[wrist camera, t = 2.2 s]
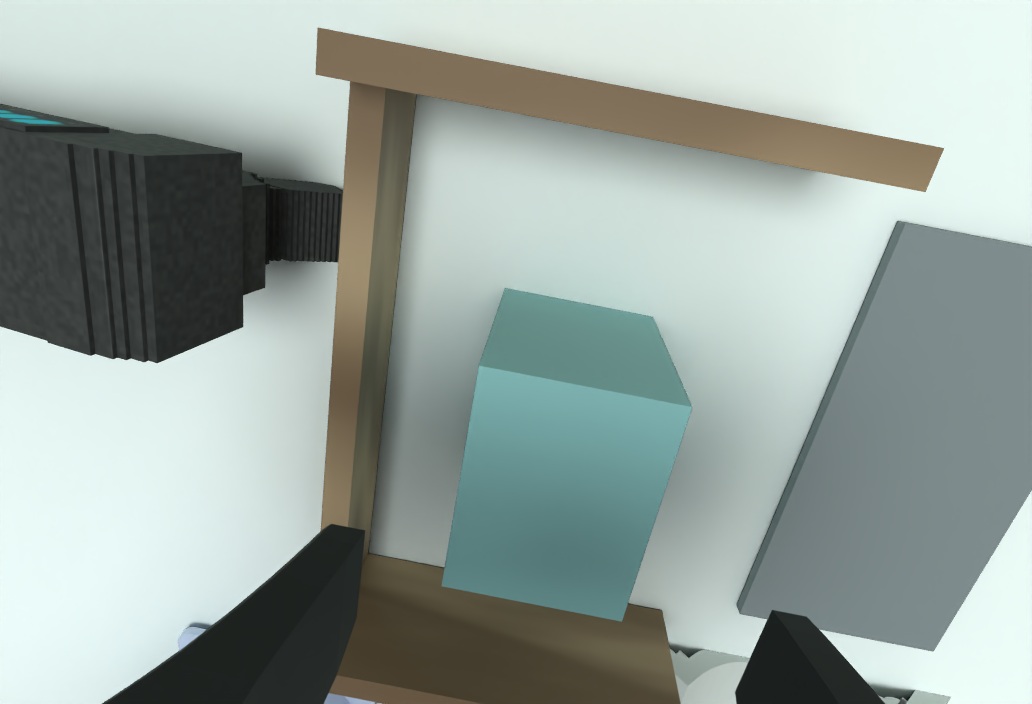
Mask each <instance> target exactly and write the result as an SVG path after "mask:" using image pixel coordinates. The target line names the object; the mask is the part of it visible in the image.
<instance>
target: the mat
mask: <svg viewBox="0 0 1032 704" xmlns="http://www.w3.org/2000/svg"><path fill="white" fill-rule="evenodd" d="M1031 490H1032V247H1031V246H1026V245H1021V244H1015V243H1010V242H1005V241H1000V240H995V239H989V238H984V237H979V236H974V235H969V234H964V233H958V232H953V231H948V230H943V229H938V228H932V227H927V226H922V225H917V224H912V223H907V222H901V221H898V222H897V224H896V227H895V229H894V231H893V234H892V236H891V238H890V241H889V243H888V246H887V248H886V250H885V253H884V255H883V258H882V260H881V262H880V265H879V267H878V269H877V272H876V274H875V277H874V279H873V281H872V284H871V286H870V289H869V291H868V293H867V296H866V298H865V300H864V303H863V305H862V308H861V310H860V312H859V315H858V317H857V320H856V322H855V324H854V327H853V329H852V331H851V334H850V336H849V339H848V341H847V343H846V346H845V348H844V351H843V353H842V355H841V358H840V360H839V362H838V365H837V367H836V370H835V372H834V374H833V377H832V379H831V382H830V384H829V386H828V389H827V391H826V393H825V396H824V398H823V401H822V403H821V405H820V408H819V410H818V413H817V415H816V417H815V420H814V422H813V424H812V427H811V429H810V432H809V434H808V436H807V439H806V441H805V444H804V446H803V448H802V451H801V453H800V455H799V458H798V460H797V463H796V465H795V467H794V470H793V472H792V475H791V477H790V479H789V482H788V484H787V487H786V489H785V491H784V494H783V496H782V498H781V501H780V503H779V506H778V508H777V510H776V513H775V515H774V518H773V520H772V522H771V525H770V527H769V529H768V532H767V534H766V537H765V539H764V541H763V544H762V546H761V549H760V551H759V553H758V556H757V558H756V560H755V563H754V565H753V568H752V570H751V572H750V575H749V577H748V580H747V582H746V584H745V587H744V589H743V591H742V594H741V596H740V599H739V601H738V603H737V608H738V610H739V613H740V614H743V615H748V616H753V617H758V618H764V619H768V618H769V615H770V613H771V611H772V610H776V611H781V612H786V613H791V614H796V615H801V616H806V617H808V618H809V619H810V620H811V622H812V623H813V624H814V625H815V626H816V627H817V628H818V629H820V630H825V631H831V632H836V633H841V634H846V635H851V636H856V637H861V638H867V639H872V640H877V641H882V642H887V643H892V644H897V645H903V646H908V647H913V648H918V649H923V650H928V651H934V650H935V648H936V647H937V645H938V643H939V642H940V640H941V638H942V637H943V635H944V633H945V632H946V630H947V628H948V627H949V625H950V623H951V622H952V620H953V619H954V617H955V615H956V614H957V612H958V610H959V609H960V607H961V605H962V604H963V602H964V600H965V599H966V597H967V596H968V594H969V592H970V591H971V589H972V587H973V586H974V584H975V582H976V581H977V579H978V577H979V576H980V574H981V573H982V571H983V569H984V568H985V566H986V564H987V563H988V561H989V559H990V558H991V556H992V554H993V553H994V551H995V549H996V548H997V546H998V545H999V543H1000V541H1001V540H1002V538H1003V536H1004V535H1005V533H1006V531H1007V530H1008V528H1009V526H1010V525H1011V523H1012V522H1013V520H1014V518H1015V517H1016V515H1017V513H1018V512H1019V510H1020V508H1021V507H1022V505H1023V503H1024V502H1025V500H1026V499H1027V497H1028V495H1029V494H1030V492H1031Z"/></svg>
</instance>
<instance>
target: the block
mask: <svg viewBox="0 0 1032 704" xmlns="http://www.w3.org/2000/svg"><path fill="white" fill-rule="evenodd" d="M691 410H692V405H691V403H690V401H689V398H688V396H687V394H686V391H685V389H684V387H683V385H682V382H681V380H680V378H679V376H678V373H677V371H676V369H675V366H674V364H673V362H672V360H671V357H670V355H669V353H668V350H667V348H666V346H665V344H664V341H663V339H662V337H661V335H660V332H659V330H658V328H657V325H656V323H655V321H654V319H653V317H651V316H646V315H641V314H636V313H630V312H625V311H620V310H615V309H610V308H605V307H600V306H594V305H589V304H584V303H579V302H574V301H569V300H564V299H558V298H553V297H548V296H543V295H538V294H533V293H528V292H522V291H517V290H512V289H507V288H505V290H504V293H503V296H502V299H501V302H500V305H499V308H498V311H497V314H496V317H495V320H494V323H493V326H492V329H491V332H490V335H489V338H488V340H487V343H486V346H485V349H484V352H483V355H482V358H481V361H480V364H479V368H478V374H477V380H476V386H475V392H474V398H473V404H472V410H471V416H470V421H469V427H468V433H467V439H466V445H465V451H464V457H463V463H462V469H461V474H460V480H459V486H458V492H457V498H456V504H455V510H454V516H453V522H452V527H451V533H450V539H449V545H448V551H447V557H446V563H445V569H444V575H443V580H442V586H443V587H448V588H453V589H458V590H463V591H469V592H474V593H479V594H484V595H489V596H494V597H499V598H504V599H509V600H514V601H519V602H525V603H530V604H535V605H540V606H545V607H550V608H555V609H560V610H565V611H570V612H575V613H581V614H586V615H591V616H596V617H601V618H606V619H611V620H616V621H621V622H622V620H623V617H624V614H625V611H626V608H627V605H628V601H629V598H630V595H631V592H632V589H633V586H634V583H635V580H636V577H637V574H638V571H639V568H640V565H641V562H642V559H643V556H644V553H645V550H646V547H647V544H648V541H649V538H650V535H651V532H652V529H653V526H654V522H655V519H656V516H657V513H658V510H659V507H660V504H661V501H662V498H663V495H664V492H665V489H666V486H667V483H668V480H669V477H670V474H671V471H672V468H673V465H674V462H675V459H676V456H677V453H678V450H679V447H680V444H681V440H682V437H683V434H684V431H685V428H686V425H687V422H688V419H689V416H690V413H691Z"/></svg>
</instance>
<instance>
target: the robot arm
mask: <svg viewBox="0 0 1032 704" xmlns="http://www.w3.org/2000/svg"><path fill="white" fill-rule="evenodd" d="M364 539H365V530H361V529H356V528H351V527H346V526H340V525H335V524H330V525H328V526H327V527H325V528H324V529H323V530H322V531H321V532H320V533H319V534H317V535H316V536H315V537H314V538H313V539H312V540H311V541H310V542H309V543H308V544H307V545H306V546H305V547H304V548H303V549H302V550H301V551H299V552H298V553H297V554H296V555H295V556H294V557H293V558H292V559H291V560H290V561H289V562H287V563H286V564H285V565H284V566H283V567H282V568H281V569H280V570H278V571H277V572H276V573H275V574H274V575H273V576H272V577H271V578H269V579H268V580H267V581H266V582H265V583H264V584H262V585H261V586H260V587H259V588H258V589H256V590H255V591H254V592H253V593H252V594H251V595H249V596H248V597H247V598H246V599H245V600H243V601H242V602H241V603H240V604H239V605H238V606H236V607H235V608H234V609H233V610H231V611H230V612H229V613H228V614H226V615H225V616H224V617H223V618H221V619H220V620H219V621H217V622H216V623H215V624H213V625H212V626H211V627H210V628H208V629H202V628H197V627H189V628H186V629H185V630H184V631H183V632H182V634H181V635H180V636H179V639H178V644H179V651H178V652H177V653H175V654H174V655H173V656H171V657H170V658H168V659H167V660H166V661H164V662H163V663H161V664H160V665H159V666H157V667H156V668H154V669H153V670H152V671H150V672H149V673H147V674H146V675H144V676H143V677H141V678H140V679H138V680H137V681H135V682H134V683H133V684H131V685H130V686H128V687H127V688H125V689H124V690H122V691H121V692H119V693H118V694H116V695H115V696H113V697H112V698H110V699H108V700H107V701H105V702H104V703H102V704H375V703H376V702H372V701H366V700H361V699H356V698H351V697H346V696H341V695H336V694H331V693H329V691H330V689H331V687H332V685H333V682H334V680H335V678H336V676H337V673H338V670H339V667H340V664H341V662H342V659H343V656H344V653H345V650H346V648H347V645H348V642H349V639H350V636H351V633H352V630H353V627H354V624H355V621H356V618H357V609H358V599H359V589H360V579H361V569H362V559H363V549H364ZM735 696H736V703H737V704H885V703H884V702H883V701H882V699H881V698H880V697H879V696H878V695H877V694H876V693H875V692H874V690H873V689H872V688H871V687H870V686H869V685H868V684H867V683H866V681H865V680H864V679H863V678H862V677H861V676H860V675H859V674H858V672H857V671H856V670H855V669H854V668H853V667H852V666H851V664H850V663H849V662H848V661H847V660H846V659H845V658H844V657H843V655H842V654H841V653H840V652H839V651H838V650H837V649H836V648H835V646H834V645H833V644H832V643H831V642H830V641H829V640H828V639H827V638H826V636H825V635H824V634H823V633H822V632H821V631H820V630H819V629H818V628H817V627H816V626H815V625H814V624H813V623H812V622H811V620H810V619H809V618H808V617H806V616H801V615H796V614H791V613H786V612H781V611H776V610H772V611H771V613H770V615H769V618H768V620H767V622H766V624H765V627H764V629H763V631H762V633H761V635H760V638H759V640H758V642H757V644H756V646H755V649H754V651H753V653H752V655H751V657H750V660H749V662H748V664H747V666H746V668H745V671H744V673H743V675H742V677H741V679H740V682H739V684H738V686H737V688H736V691H735Z"/></svg>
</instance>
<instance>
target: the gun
mask: <svg viewBox="0 0 1032 704" xmlns="http://www.w3.org/2000/svg"><path fill="white" fill-rule="evenodd" d="M342 201H343V192H342V191H341V190H339V189H338V188H337V187H336V186H332V185H326V184H321V183H314V182H306V181H305V182H303V181H295V180H294V181H292V180H284V179H283V180H281V179H273V178H272V179H269V178H261V177H260V178H258V177H257V174H255V173H251V172H246V171H242V153H240V152H236V151H231V150H226V149H222V148H217V147H213V146H208V145H203V144H199V143H194V142H189V141H185V140H180V139H175V138H171V137H166V136H162V135H157V134H133V133H128V132H124V131H119V130H114V129H110V128H109V127H104V126H100V125H95V124H91V123H86V122H81V121H77V120H72V119H68V118H63V117H58V116H54V115H49V114H44V113H40V112H35V111H31V110H26V109H21V108H17V107H12V106H8V105H3V104H0V326H1V327H4V328H7V329H11V330H14V331H17V332H21V333H24V334H27V335H30V336H34V337H37V338H40V339H44V340H47V341H48V343H51V344H54V345H58V346H61V347H64V348H67V349H71V350H74V351H77V352H81V353H84V354H87V355H90V356H91V355H94V354H98V355H101V356H104V357H107V358H111V359H115V358H121V359H125V360H128V359H131V358H132V359H135V360H138V361H142V362H146V361H152V362H155V363H159V362H161V361H164V360H166V359H168V358H171V357H173V356H175V355H178V354H180V353H183V352H185V351H187V350H190V349H192V348H194V347H197V346H199V345H201V344H204V343H206V342H209V341H211V340H213V339H216V338H218V337H220V336H223V335H225V334H228V333H230V332H232V331H235V330H237V329H239V328H242V327H243V295H245V294H248V293H251V292H254V291H256V290H259V289H262V288H265V264H266V265H267V264H269V260H271V261H274V260H276V261H280V260H281V259H283V260H287V261H307V262H308V261H312V262H314V261H317V262H320V261H322V262H326V261H327V262H339V247H340V231H341V216H342Z"/></svg>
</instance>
